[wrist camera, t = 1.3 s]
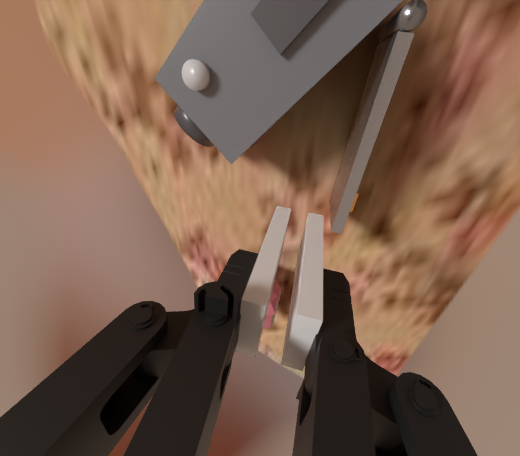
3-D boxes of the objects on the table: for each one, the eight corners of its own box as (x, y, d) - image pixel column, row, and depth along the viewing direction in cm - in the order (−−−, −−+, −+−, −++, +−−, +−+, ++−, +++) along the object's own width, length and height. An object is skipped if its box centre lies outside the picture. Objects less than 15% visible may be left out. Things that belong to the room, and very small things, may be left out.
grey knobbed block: (320, -96, 18) (318, -198, 11) (386, 17, 20) (416, -13, 14) (181, 94, 27) (135, 99, 20) (238, 158, 29) (213, 181, 22)
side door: (382, 21, 20) (406, -3, 14) (407, 24, 20) (442, 1, 14) (327, 201, 29) (328, 232, 23) (344, 205, 29) (350, 236, 23)
